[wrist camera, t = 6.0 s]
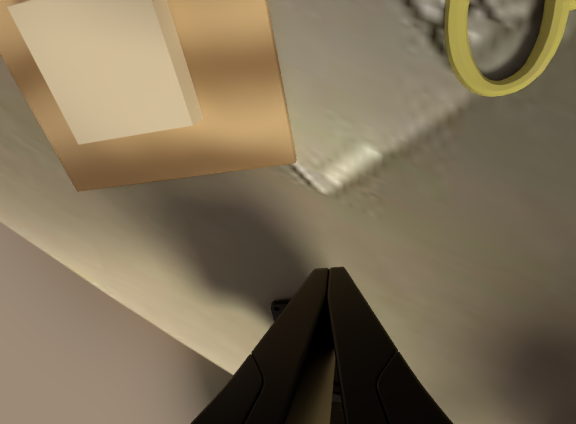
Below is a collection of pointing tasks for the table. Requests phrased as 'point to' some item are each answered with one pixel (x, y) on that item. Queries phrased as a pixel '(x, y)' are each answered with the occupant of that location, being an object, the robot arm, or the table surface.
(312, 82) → the table surface
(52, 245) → the table surface
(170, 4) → the mat
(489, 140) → the table surface
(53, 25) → the tile
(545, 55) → the key
